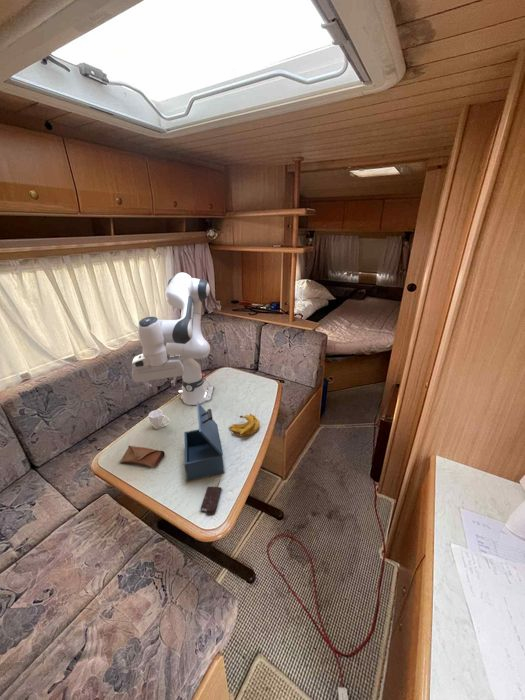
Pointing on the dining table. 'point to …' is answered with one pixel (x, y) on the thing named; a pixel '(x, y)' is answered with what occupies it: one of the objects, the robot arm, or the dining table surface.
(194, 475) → the cool box
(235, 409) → the dining table surface
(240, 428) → the banana
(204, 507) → the ice cream bar
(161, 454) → the sunglasses case
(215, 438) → the cool box lid
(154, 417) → the cup
